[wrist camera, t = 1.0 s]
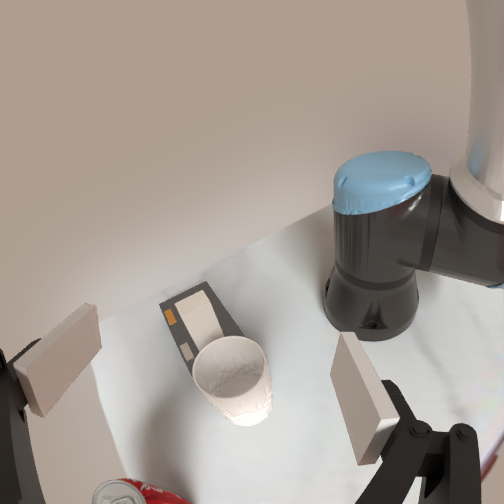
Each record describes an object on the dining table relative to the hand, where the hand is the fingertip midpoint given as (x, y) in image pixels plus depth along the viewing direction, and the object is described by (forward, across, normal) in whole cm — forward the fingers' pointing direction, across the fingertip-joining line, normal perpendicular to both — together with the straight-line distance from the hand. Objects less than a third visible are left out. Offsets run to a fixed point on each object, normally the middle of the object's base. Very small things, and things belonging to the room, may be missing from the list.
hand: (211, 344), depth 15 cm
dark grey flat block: (+28, -5, -16) cm, 33 cm away
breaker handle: (+24, -3, -14) cm, 28 cm away
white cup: (+17, +3, -19) cm, 26 cm away
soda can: (+2, -5, -28) cm, 28 cm away
